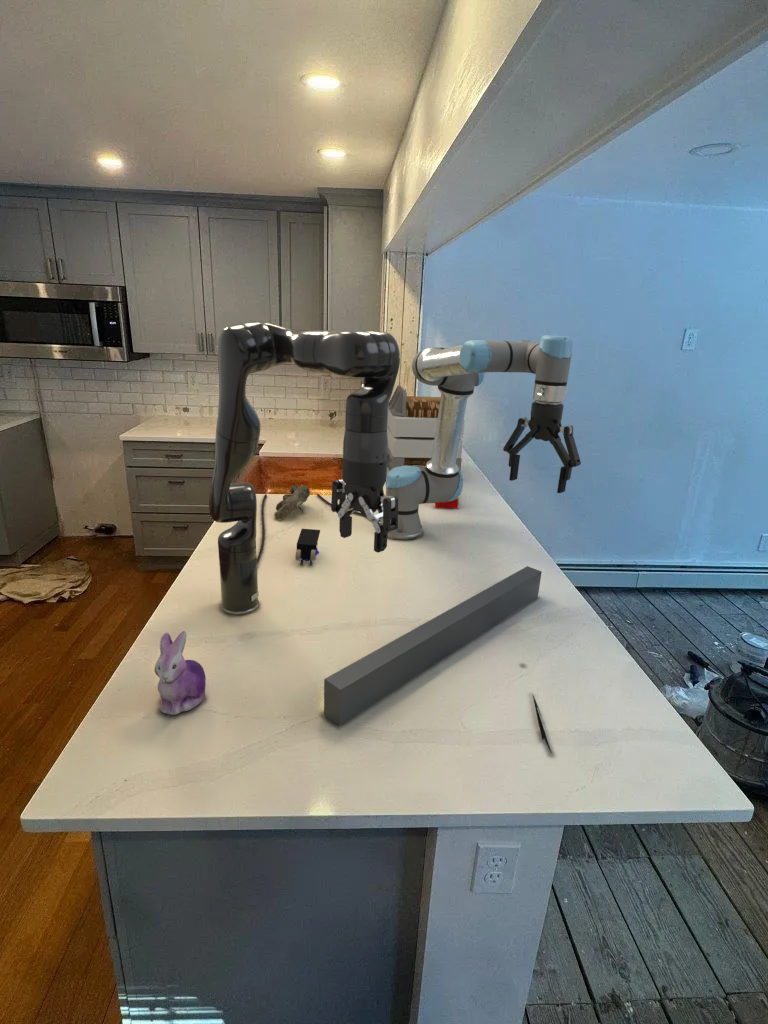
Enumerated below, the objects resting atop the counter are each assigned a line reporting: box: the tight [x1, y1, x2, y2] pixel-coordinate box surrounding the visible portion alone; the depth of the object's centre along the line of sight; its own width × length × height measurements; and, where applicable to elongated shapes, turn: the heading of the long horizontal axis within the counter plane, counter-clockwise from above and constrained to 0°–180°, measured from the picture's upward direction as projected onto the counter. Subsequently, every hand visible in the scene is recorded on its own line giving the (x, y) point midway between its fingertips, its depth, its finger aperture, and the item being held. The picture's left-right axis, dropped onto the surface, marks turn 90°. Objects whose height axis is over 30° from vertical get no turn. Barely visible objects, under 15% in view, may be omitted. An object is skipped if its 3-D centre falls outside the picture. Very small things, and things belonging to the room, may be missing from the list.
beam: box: [323, 565, 542, 726], centre depth 133 cm, size 75×5×8 cm, turn 137°
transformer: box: [387, 384, 465, 473], centre depth 268 cm, size 34×33×41 cm
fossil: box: [273, 484, 311, 521], centre depth 215 cm, size 22×10×15 cm
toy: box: [434, 496, 460, 509], centre depth 239 cm, size 12×13×30 cm
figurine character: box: [295, 528, 321, 566], centre depth 176 cm, size 7×8×15 cm
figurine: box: [153, 630, 207, 716], centre depth 109 cm, size 9×10×15 cm
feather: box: [522, 663, 555, 753], centre depth 115 cm, size 2×28×2 cm
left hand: (362, 543), depth 101 cm, fingers open, 8 cm apart
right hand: (536, 485), depth 145 cm, fingers open, 13 cm apart
